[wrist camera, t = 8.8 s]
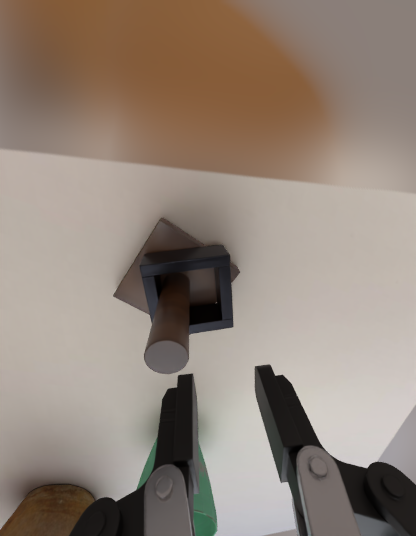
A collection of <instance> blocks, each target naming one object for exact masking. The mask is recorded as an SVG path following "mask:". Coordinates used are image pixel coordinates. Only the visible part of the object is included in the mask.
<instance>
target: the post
mask: <svg viewBox="0 0 416 536" xmlns="http://www.w3.org/2000/svg"><path fill="white" fill-rule="evenodd" d="M197 247H205V245H204V244H202V243H201V242H199V241H198V240H196V239H195V238H193V237H192V236H190V235H189V234H187V233H185V232H184V231H182V230H181V229H179V228H178V227H176V226H175V225H173V224H172V223H170V222H169V221H167V220H166V219H164V218H161V219H160V220H159V222H158V224H157V225H156V227H155V229H154V230H153V232H152V233H151V235H150V237H149V238H148V240H147V242H146V243H145V245H144V246H143V248H142V250H141V251H140V253H139V254H138V256H137V258H136V259H135V261H134V263H133V264H132V266H131V267H130V269H129V271H128V272H127V274H126V276H125V277H124V279H123V280H122V282H121V284H120V285H119V287H118V288H117V290H116V292H115V293H114V295H113V296H114V297H116V298H118V299H120V300H122V301H124V302H126V303H128V304H130V305H131V306H133V307H135V308H137V309H139V310H141V311H143V312H145V313H147V314H149V315H150V313H149V308H148V304H147V299H146V295H145V291H144V286H143V282H142V276H141V272H140V268H139V266H140V263H141V261H142V258H143V256H144V254H147V253H155V252H164V251H172V250H180V249H188V248H197ZM230 268H231V283H232V282H233V281H234V279H235V278H236V277H237V276H238V274H239V273H240V271H239V269H238V267H237V266H236V265H234V264H233V263H231V262H230ZM160 281H161V286H162V288H161V292H160V296H159V300H158V304H157V307H156V311H155V315H154V319H153V323H152V326H151V330H150V334H149V338H148V342H147V345H146V349H145V353H144V360H145V362H146V364H147V366H148V367H149V368H150V369H152V370H153V371H155V372H158V373H162V374H171V373H175V372H178V371H180V370H181V369H183V368H184V367H185V366H186V364H187V362H188V360H189V335H190V334H189V311H190V307H194V306H201V305H208V304H215V303H216V302H217V297H216V285H215V273H214V268H208V269H200V270H192V271H185V272H177V273H169V274H161V275H160Z"/></svg>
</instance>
